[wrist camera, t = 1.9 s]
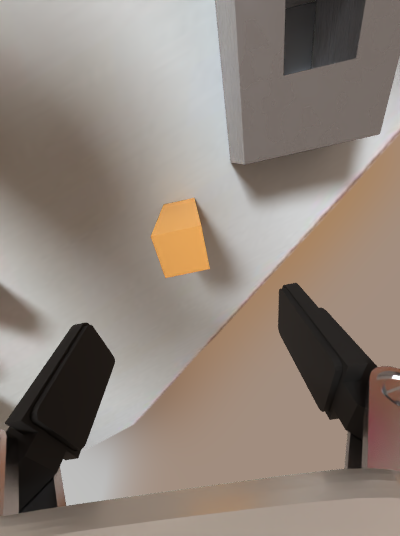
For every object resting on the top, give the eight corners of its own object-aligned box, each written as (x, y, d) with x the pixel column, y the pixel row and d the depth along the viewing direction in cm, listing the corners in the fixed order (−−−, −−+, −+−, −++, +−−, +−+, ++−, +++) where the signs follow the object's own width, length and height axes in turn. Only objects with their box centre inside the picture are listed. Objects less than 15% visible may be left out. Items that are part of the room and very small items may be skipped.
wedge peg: (163, 204, 24) (150, 236, 15) (194, 197, 24) (201, 225, 14) (171, 233, 26) (165, 277, 17) (200, 227, 26) (209, 268, 17)
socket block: (207, -82, 14) (221, -223, 9) (372, -128, 13) (489, -304, 8) (230, 162, 22) (244, 164, 17) (333, 139, 22) (379, 134, 17)
